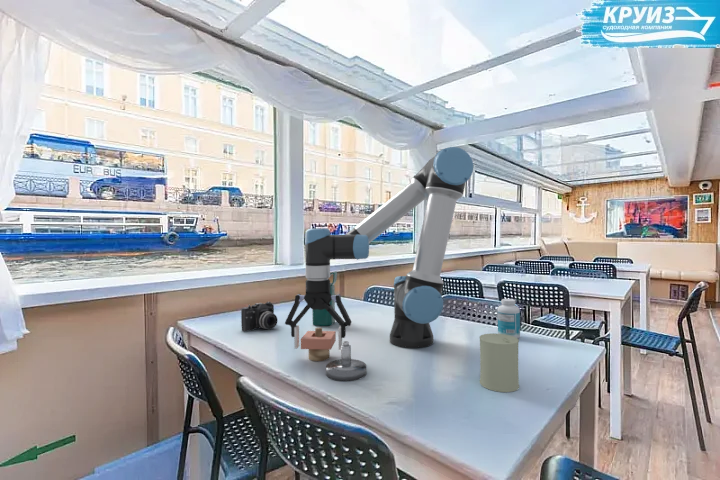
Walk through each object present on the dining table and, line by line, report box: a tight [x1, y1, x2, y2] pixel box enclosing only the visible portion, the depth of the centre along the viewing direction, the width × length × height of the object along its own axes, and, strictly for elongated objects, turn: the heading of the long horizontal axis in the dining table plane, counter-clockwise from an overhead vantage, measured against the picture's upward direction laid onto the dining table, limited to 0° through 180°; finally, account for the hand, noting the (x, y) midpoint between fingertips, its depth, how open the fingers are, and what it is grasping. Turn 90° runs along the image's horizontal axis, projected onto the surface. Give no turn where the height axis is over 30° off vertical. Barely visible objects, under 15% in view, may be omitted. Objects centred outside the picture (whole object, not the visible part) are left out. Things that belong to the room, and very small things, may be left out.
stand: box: [308, 327, 331, 362], centre depth 112 cm, size 6×6×9 cm
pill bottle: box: [497, 298, 521, 340], centre depth 131 cm, size 8×7×14 cm
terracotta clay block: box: [300, 330, 337, 351], centre depth 112 cm, size 9×9×3 cm
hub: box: [325, 341, 367, 382], centre depth 100 cm, size 11×11×8 cm
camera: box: [240, 301, 279, 332], centre depth 148 cm, size 14×11×10 cm
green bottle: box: [311, 271, 338, 327], centre depth 155 cm, size 10×8×22 cm
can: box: [479, 333, 520, 393], centre depth 91 cm, size 9×9×12 cm
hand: (318, 347), depth 112 cm, fingers open, 13 cm apart
